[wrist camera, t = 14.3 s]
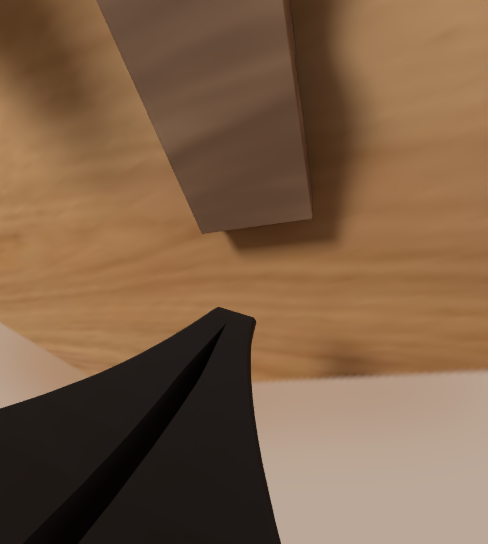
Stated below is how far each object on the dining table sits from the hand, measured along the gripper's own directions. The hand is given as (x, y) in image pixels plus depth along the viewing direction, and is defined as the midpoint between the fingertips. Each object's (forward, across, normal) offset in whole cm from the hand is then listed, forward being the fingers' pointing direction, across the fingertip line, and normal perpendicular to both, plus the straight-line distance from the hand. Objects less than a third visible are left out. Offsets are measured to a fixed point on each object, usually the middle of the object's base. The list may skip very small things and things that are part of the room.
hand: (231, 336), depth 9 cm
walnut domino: (+5, +1, -3) cm, 6 cm away
